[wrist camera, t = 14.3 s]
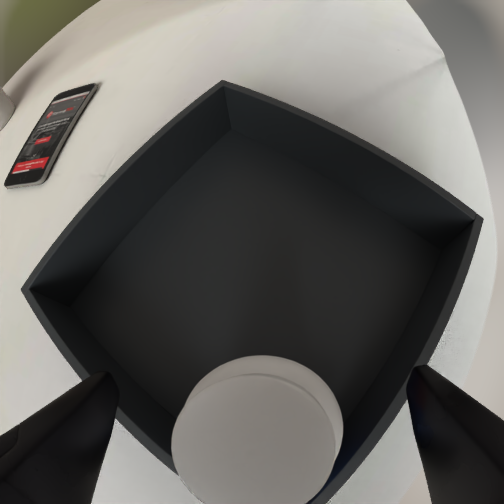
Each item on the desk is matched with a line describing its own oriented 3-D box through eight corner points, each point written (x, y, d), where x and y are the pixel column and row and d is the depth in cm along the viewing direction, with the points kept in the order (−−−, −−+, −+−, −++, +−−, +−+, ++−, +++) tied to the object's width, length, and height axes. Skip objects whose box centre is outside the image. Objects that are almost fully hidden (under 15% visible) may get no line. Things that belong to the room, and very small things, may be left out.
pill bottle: (338, 397, 15) (412, 423, 6) (278, 470, 13) (275, 568, 4) (258, 342, 16) (232, 303, 7) (199, 415, 15) (110, 454, 6)
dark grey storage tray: (446, 253, 18) (484, 218, 13) (283, 502, 13) (284, 542, 8) (231, 127, 23) (222, 79, 19) (66, 310, 18) (19, 289, 14)
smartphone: (2, 187, 24) (56, 93, 29) (5, 190, 24) (59, 97, 30) (40, 181, 23) (97, 81, 28) (44, 185, 23) (100, 85, 29)
